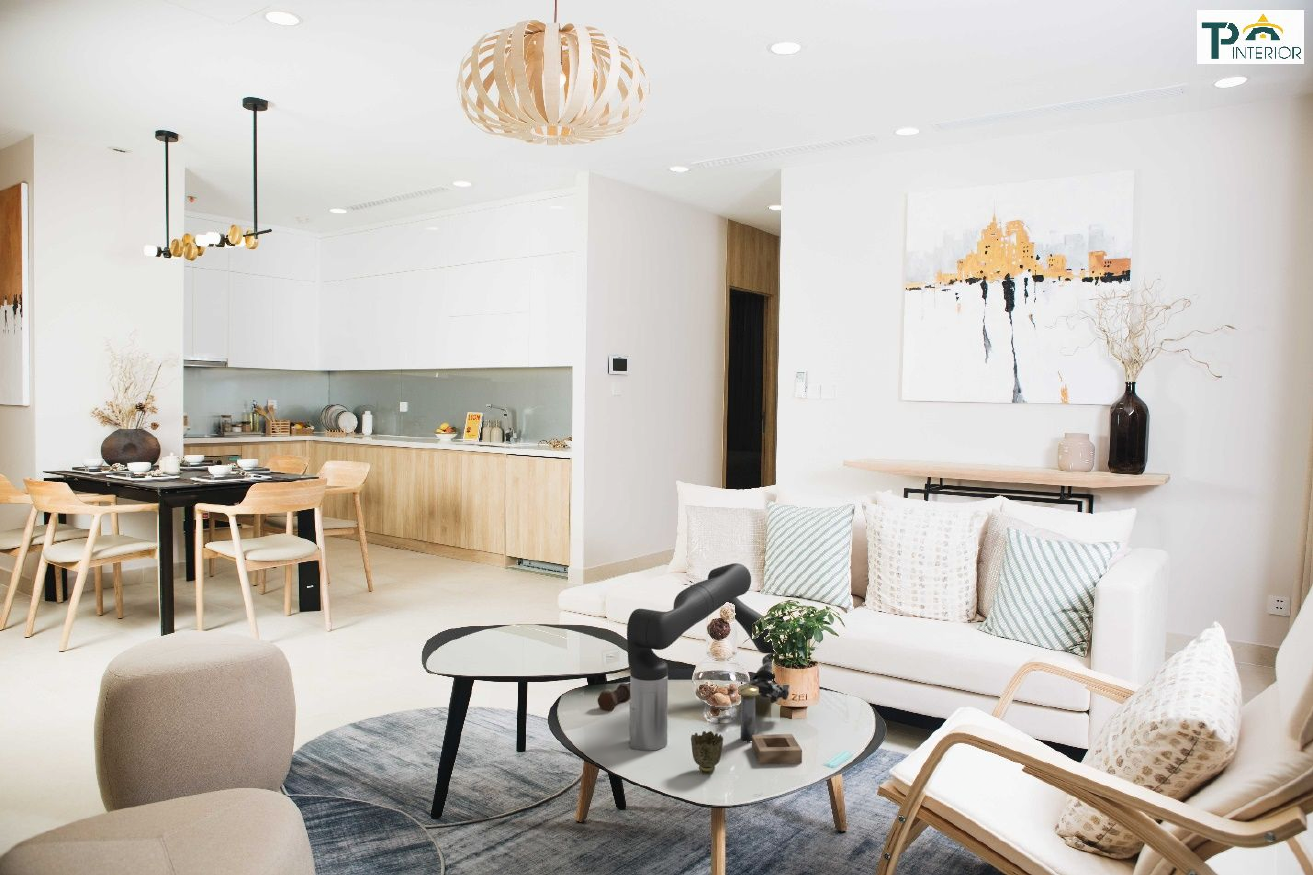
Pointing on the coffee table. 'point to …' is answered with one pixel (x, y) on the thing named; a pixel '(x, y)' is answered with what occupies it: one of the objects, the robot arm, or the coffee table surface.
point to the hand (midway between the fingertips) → (756, 697)
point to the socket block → (776, 749)
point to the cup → (707, 750)
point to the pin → (747, 711)
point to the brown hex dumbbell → (614, 697)
